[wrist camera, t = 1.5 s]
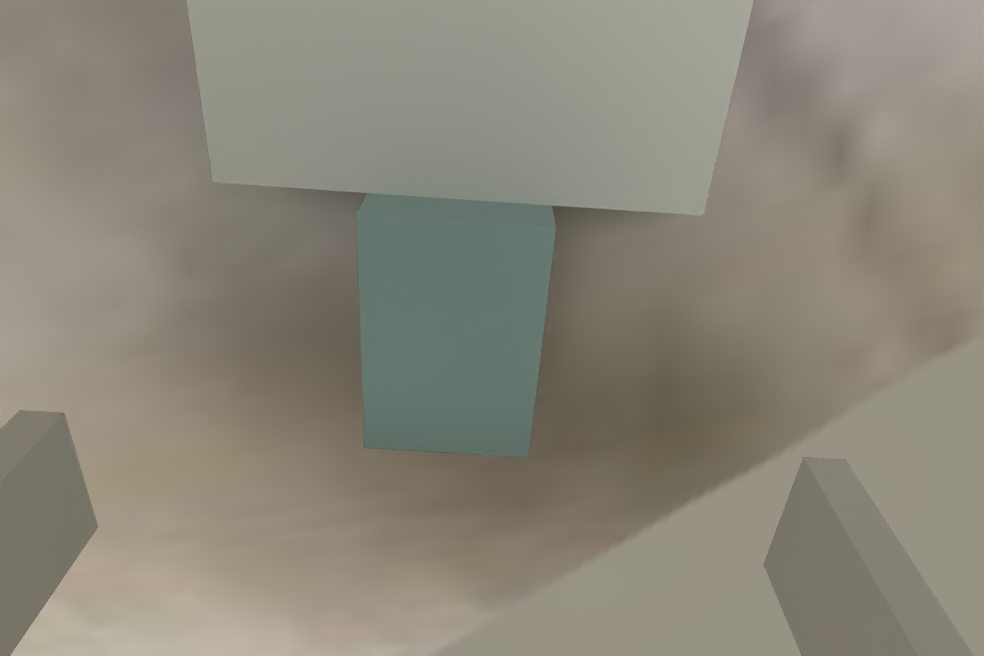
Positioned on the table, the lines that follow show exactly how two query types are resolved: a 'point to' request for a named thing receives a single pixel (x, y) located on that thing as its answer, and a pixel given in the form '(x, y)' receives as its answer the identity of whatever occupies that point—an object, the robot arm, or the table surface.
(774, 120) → the table surface
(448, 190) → the lid
